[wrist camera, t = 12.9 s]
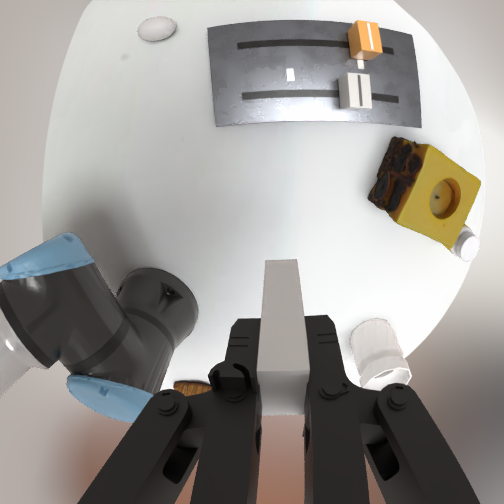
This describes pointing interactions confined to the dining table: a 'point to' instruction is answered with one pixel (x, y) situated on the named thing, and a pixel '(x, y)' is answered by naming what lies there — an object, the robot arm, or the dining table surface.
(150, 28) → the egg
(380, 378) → the vase
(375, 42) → the fader
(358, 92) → the fader
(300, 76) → the console
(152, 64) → the dining table surface
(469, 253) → the supplement bottle
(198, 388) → the croissant
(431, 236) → the candle
